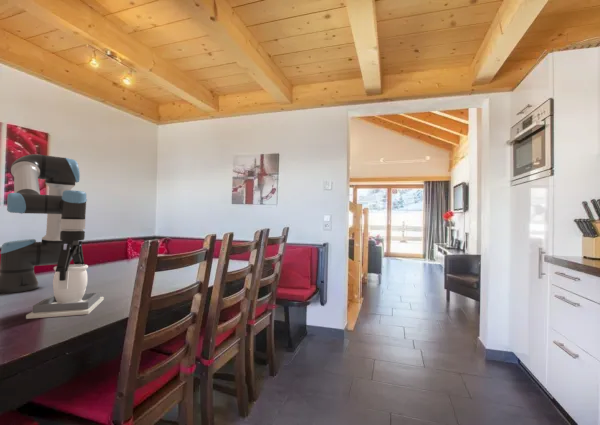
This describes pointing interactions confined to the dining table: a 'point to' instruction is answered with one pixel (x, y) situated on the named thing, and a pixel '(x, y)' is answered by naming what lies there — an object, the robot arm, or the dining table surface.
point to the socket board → (65, 306)
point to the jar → (71, 284)
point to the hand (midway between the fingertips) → (70, 284)
